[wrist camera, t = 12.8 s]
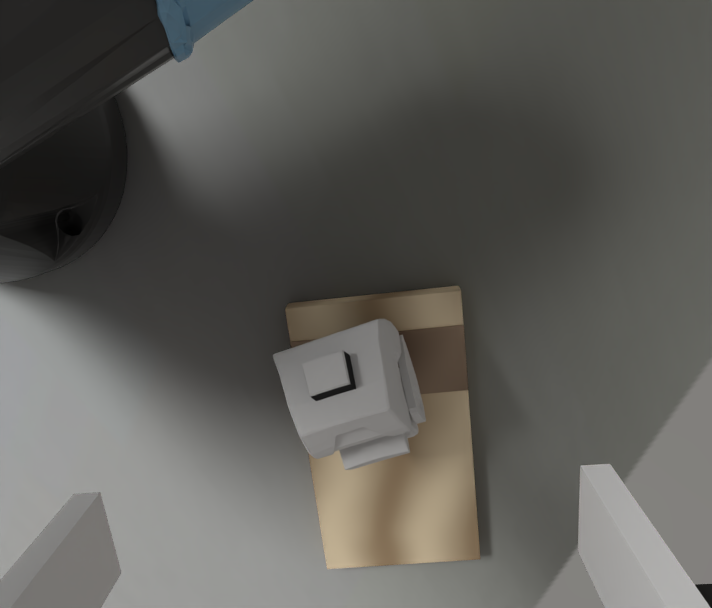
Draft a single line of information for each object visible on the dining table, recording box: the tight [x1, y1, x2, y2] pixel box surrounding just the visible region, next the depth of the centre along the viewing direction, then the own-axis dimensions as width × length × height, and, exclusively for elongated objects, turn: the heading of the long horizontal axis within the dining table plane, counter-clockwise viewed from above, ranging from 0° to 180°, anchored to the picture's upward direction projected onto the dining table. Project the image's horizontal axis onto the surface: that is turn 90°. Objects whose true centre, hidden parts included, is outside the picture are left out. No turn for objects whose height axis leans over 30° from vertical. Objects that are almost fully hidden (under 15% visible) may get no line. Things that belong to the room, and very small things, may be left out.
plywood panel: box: [285, 286, 480, 569], centre depth 34 cm, size 10×18×1 cm, turn 7°
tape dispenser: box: [273, 319, 426, 470], centre depth 28 cm, size 6×7×10 cm
